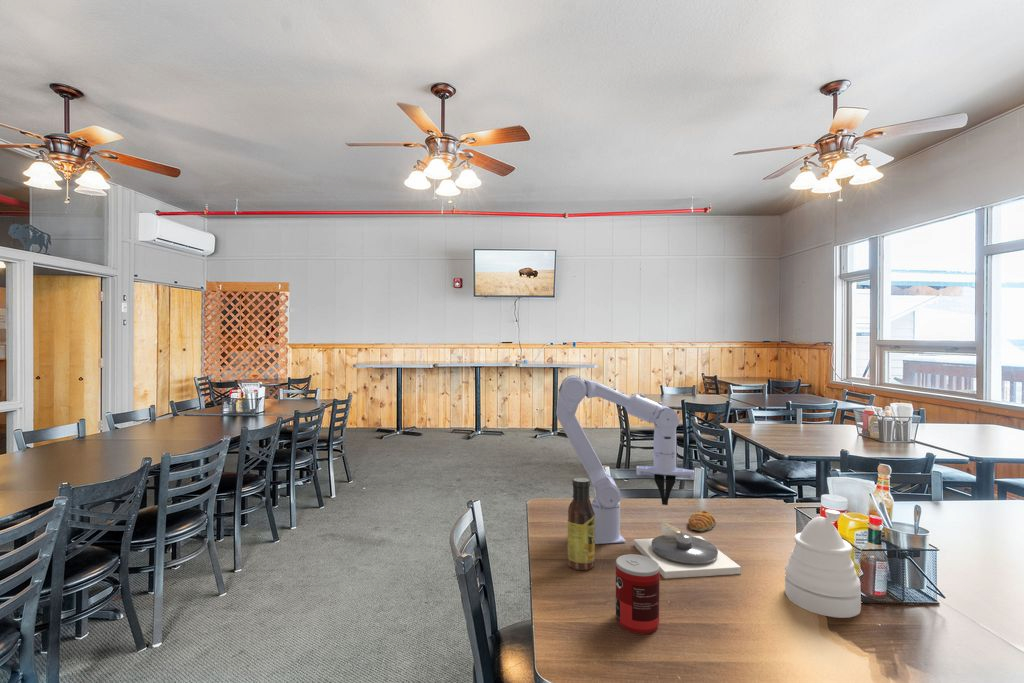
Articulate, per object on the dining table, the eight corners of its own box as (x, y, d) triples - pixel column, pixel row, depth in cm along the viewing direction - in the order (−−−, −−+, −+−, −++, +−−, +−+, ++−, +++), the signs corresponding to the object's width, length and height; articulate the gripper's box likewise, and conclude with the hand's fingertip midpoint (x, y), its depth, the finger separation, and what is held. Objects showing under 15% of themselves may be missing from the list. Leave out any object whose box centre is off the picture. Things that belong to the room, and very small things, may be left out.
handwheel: (732, 559, 113) (732, 541, 113) (678, 568, 108) (678, 550, 108) (688, 535, 127) (688, 519, 127) (639, 542, 122) (639, 526, 122)
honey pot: (845, 589, 103) (845, 503, 103) (872, 622, 91) (872, 525, 91) (778, 581, 107) (778, 498, 107) (795, 612, 94) (795, 518, 95)
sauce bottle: (594, 573, 110) (594, 484, 110) (566, 570, 111) (566, 482, 112) (595, 560, 117) (595, 476, 117) (568, 558, 118) (569, 475, 118)
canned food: (626, 606, 96) (626, 550, 96) (666, 621, 91) (666, 561, 91) (607, 623, 90) (607, 563, 90) (649, 640, 85) (649, 576, 85)
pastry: (708, 535, 133) (708, 521, 133) (683, 530, 137) (683, 516, 137) (717, 525, 140) (717, 511, 140) (693, 520, 144) (692, 507, 144)
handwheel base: (664, 578, 108) (664, 570, 108) (633, 545, 126) (633, 538, 126) (741, 573, 110) (741, 566, 110) (700, 541, 128) (700, 535, 128)
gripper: (693, 450, 131) (693, 501, 131) (637, 447, 135) (637, 496, 135) (694, 456, 124) (694, 510, 124) (635, 452, 129) (635, 504, 129)
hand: (664, 503), depth 129 cm, fingers closed
